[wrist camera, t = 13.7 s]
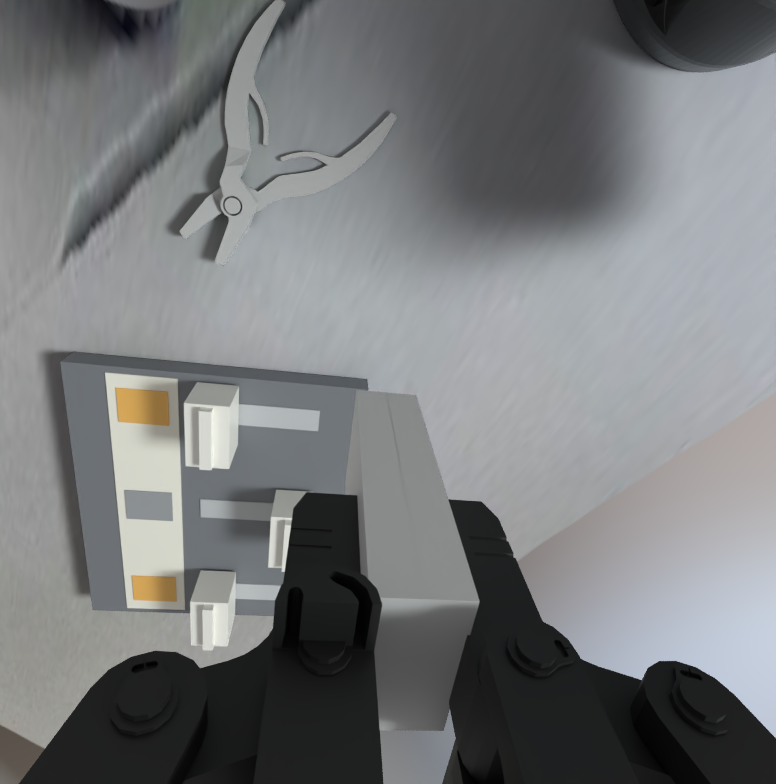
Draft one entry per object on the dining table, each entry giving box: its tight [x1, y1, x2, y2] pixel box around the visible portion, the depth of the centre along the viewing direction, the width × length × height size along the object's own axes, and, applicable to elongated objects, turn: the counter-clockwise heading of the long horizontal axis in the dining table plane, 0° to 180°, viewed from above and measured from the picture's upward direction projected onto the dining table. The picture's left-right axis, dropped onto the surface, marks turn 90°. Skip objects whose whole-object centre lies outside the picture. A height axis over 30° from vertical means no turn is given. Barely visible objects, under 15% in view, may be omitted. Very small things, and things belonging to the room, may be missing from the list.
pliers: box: [179, 0, 397, 266], centre depth 34 cm, size 10×2×15 cm
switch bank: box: [60, 352, 368, 616], centre depth 44 cm, size 22×24×2 cm
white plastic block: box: [190, 570, 236, 650], centre depth 44 cm, size 3×5×4 cm, turn 172°
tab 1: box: [184, 382, 239, 470], centre depth 37 cm, size 3×5×4 cm, turn 172°
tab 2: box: [268, 490, 313, 572], centre depth 41 cm, size 3×5×4 cm, turn 172°
